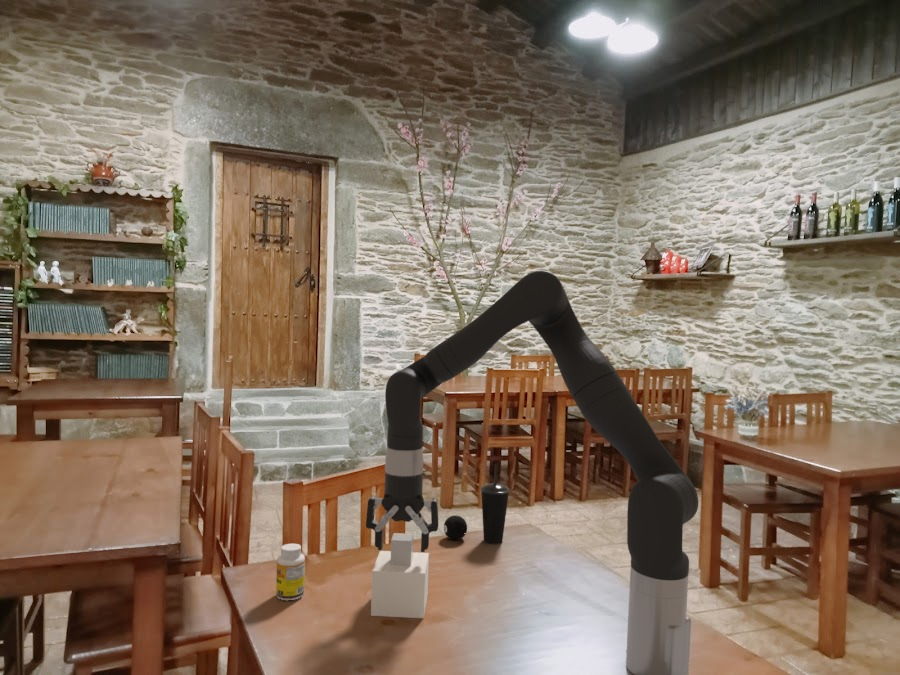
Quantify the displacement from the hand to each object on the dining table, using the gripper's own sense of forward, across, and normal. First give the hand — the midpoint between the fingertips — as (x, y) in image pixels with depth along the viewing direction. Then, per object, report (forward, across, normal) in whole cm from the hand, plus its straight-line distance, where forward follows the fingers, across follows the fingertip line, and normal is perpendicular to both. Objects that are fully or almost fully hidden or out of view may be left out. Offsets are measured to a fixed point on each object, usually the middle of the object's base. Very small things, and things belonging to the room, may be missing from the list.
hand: (401, 550), depth 126 cm
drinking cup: (+11, -20, -38) cm, 45 cm away
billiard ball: (+11, -10, -38) cm, 41 cm away
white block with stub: (+11, 0, 0) cm, 11 cm away
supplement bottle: (+11, +23, -2) cm, 25 cm away
